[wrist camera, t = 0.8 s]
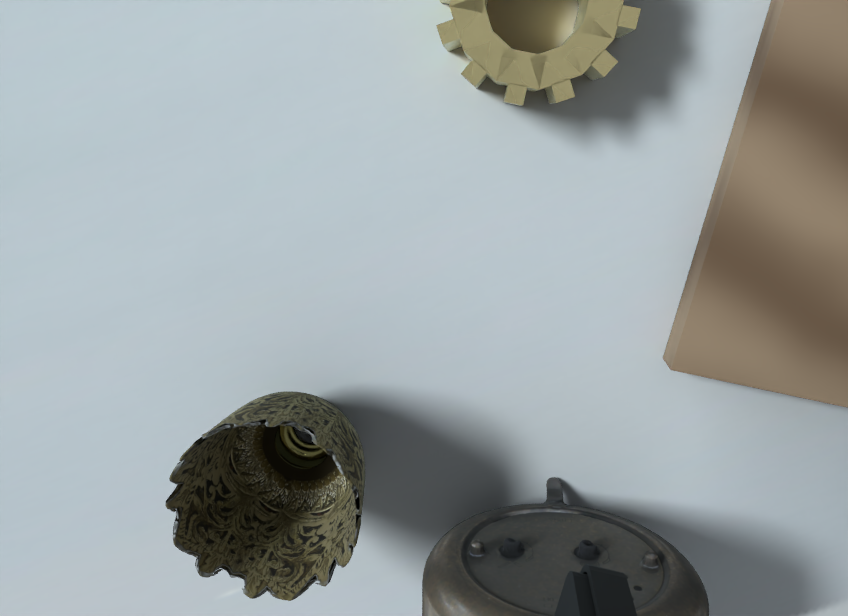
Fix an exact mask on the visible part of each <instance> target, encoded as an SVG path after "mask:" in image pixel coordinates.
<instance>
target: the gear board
mask: <svg viewBox="0 0 848 616" xmlns="http://www.w3.org/2000/svg"><path fill="white" fill-rule="evenodd" d="M663 359H664V361H665V362H666V364H667V365H668V367H669V368H670V369H671V370H674V371H679V372H683V373H688V374H693V375H697V376H702V377H707V378H712V379H716V380H721V381H726V382H730V383H735V384H740V385H744V386H749V387H754V388H758V389H763V390H768V391H772V392H777V393H782V394H787V395H791V396H796V397H801V398H805V399H810V400H815V401H819V402H824V403H829V404H833V405H838V406H843V407H848V0H771V3H770V6H769V10H768V13H767V16H766V20H765V23H764V26H763V29H762V33H761V36H760V39H759V43H758V46H757V49H756V53H755V56H754V59H753V62H752V66H751V69H750V72H749V76H748V79H747V82H746V86H745V89H744V92H743V95H742V99H741V102H740V105H739V109H738V112H737V115H736V119H735V122H734V125H733V128H732V132H731V135H730V138H729V142H728V145H727V148H726V152H725V155H724V158H723V161H722V165H721V168H720V171H719V175H718V178H717V181H716V185H715V188H714V191H713V194H712V198H711V201H710V204H709V208H708V211H707V214H706V218H705V221H704V224H703V227H702V231H701V234H700V237H699V241H698V244H697V247H696V251H695V254H694V257H693V260H692V264H691V267H690V270H689V274H688V277H687V280H686V284H685V287H684V290H683V293H682V297H681V300H680V303H679V307H678V310H677V313H676V317H675V320H674V323H673V326H672V330H671V333H670V336H669V340H668V343H667V346H666V350H665V353H664V356H663Z"/></svg>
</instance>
